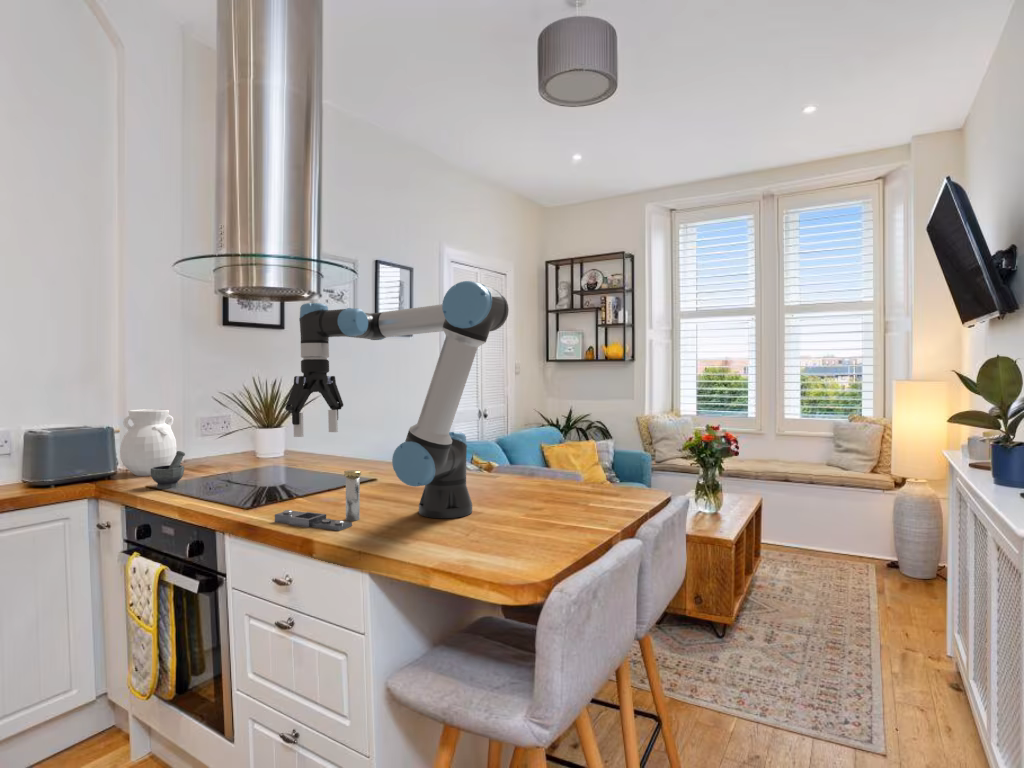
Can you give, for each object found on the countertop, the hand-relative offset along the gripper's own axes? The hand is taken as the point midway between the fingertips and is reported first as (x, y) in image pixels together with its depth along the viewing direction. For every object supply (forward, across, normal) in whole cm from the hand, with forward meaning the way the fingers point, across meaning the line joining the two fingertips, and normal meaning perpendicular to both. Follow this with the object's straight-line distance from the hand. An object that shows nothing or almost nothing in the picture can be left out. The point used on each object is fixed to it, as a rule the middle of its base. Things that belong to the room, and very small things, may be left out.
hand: (316, 434), depth 159 cm
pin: (+22, +2, +13) cm, 26 cm away
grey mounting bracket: (+22, +10, +7) cm, 25 cm away
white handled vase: (+20, -21, -104) cm, 108 cm away
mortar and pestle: (+20, -8, -73) cm, 76 cm away
